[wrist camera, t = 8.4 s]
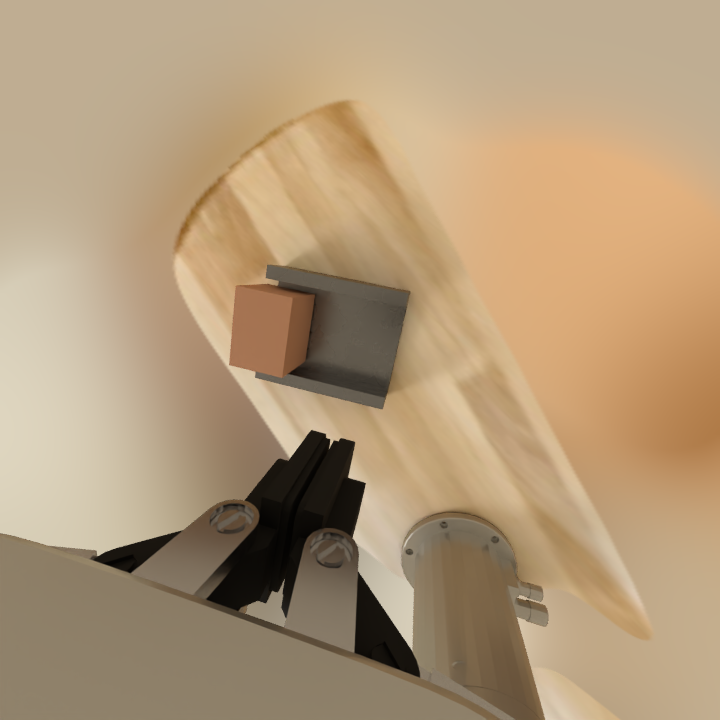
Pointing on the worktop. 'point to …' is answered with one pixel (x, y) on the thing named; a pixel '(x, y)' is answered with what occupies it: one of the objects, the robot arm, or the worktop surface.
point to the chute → (345, 336)
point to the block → (270, 328)
